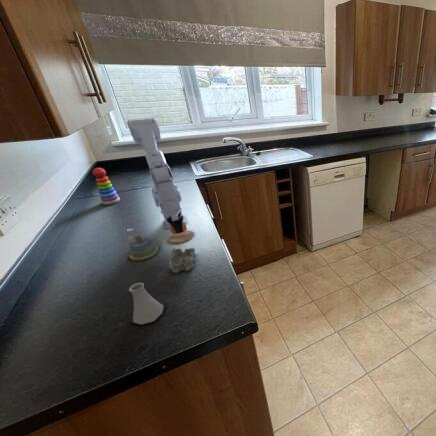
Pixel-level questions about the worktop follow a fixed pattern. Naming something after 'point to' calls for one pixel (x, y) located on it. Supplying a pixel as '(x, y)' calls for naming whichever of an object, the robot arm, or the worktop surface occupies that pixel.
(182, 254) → the egg carton
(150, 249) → the ring stack
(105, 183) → the stacking toy
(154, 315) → the flask
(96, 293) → the worktop surface
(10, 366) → the worktop surface
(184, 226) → the orange ring
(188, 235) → the cork coaster
